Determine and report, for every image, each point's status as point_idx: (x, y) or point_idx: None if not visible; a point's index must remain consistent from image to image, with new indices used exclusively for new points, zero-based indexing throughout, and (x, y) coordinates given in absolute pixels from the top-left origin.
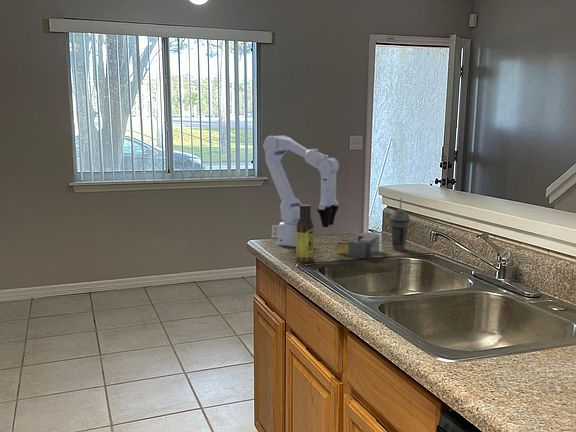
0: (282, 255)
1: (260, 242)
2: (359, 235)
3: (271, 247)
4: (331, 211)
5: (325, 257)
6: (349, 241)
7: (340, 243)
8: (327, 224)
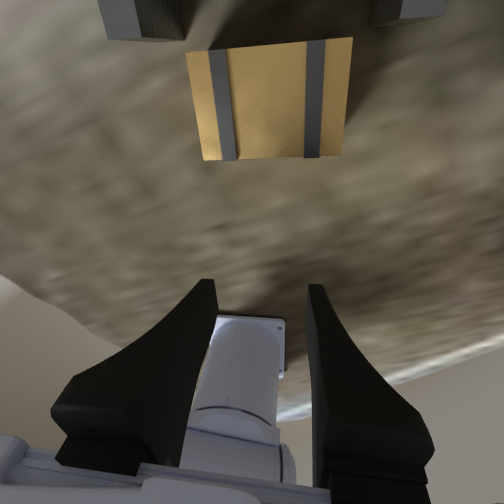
0: (443, 329)
1: None
2: (115, 30)
3: None
4: (360, 404)
5: (454, 162)
6: (427, 11)
7: (329, 131)
8: (327, 302)
